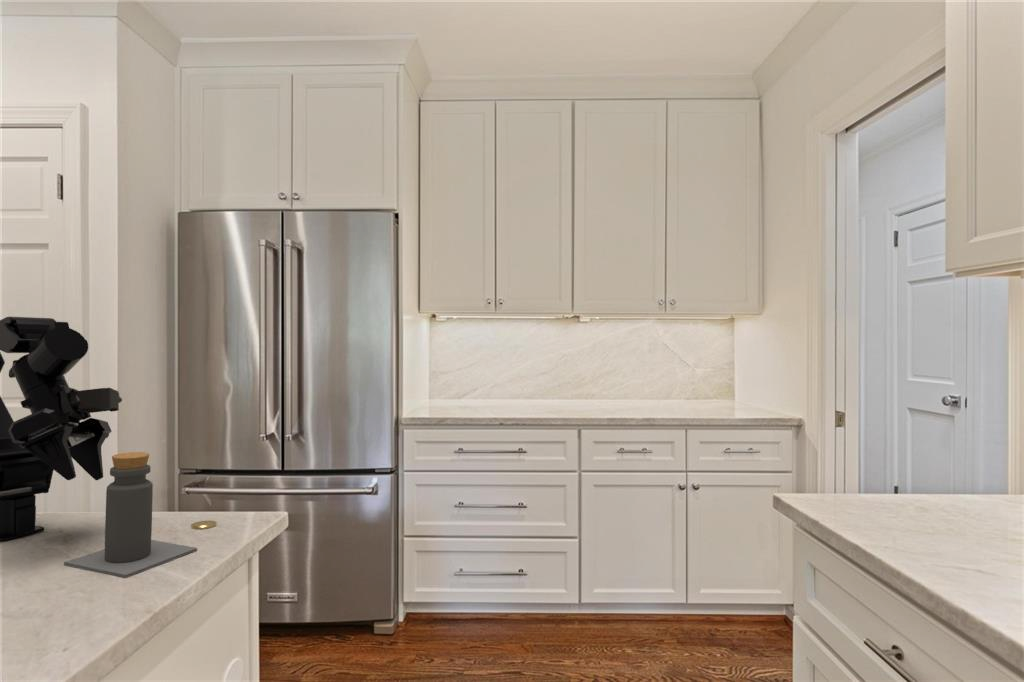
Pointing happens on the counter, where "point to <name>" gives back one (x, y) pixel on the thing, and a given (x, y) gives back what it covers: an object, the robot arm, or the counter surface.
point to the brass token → (203, 524)
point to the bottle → (128, 509)
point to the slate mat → (158, 556)
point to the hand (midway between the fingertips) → (86, 478)
